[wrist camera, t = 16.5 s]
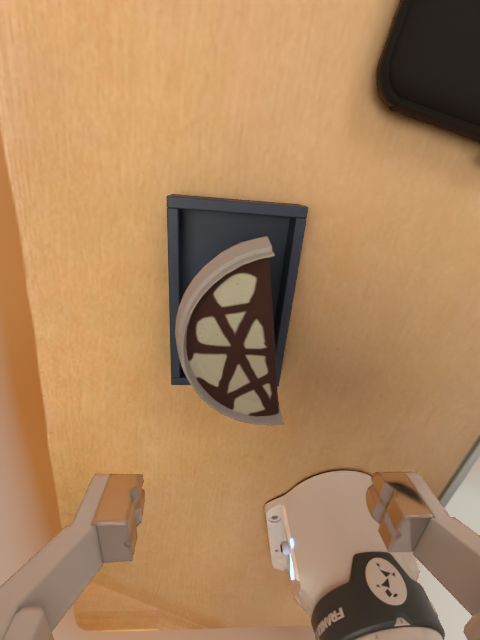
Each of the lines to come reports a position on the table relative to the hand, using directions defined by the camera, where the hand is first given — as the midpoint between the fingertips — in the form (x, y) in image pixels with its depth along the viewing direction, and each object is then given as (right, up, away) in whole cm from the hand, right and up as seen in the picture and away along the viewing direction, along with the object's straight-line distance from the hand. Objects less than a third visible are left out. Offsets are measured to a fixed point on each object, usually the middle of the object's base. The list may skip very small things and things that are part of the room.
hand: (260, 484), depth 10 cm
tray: (-2, +8, +16) cm, 18 cm away
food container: (-2, +8, +16) cm, 18 cm away
